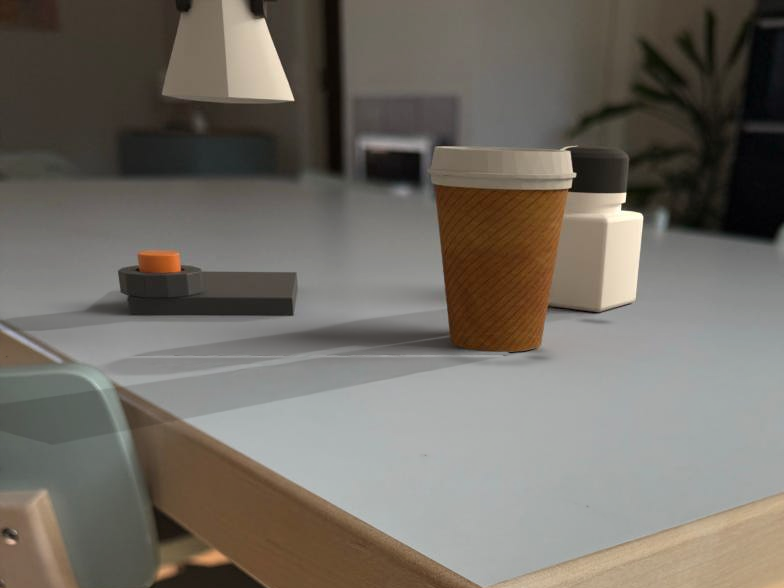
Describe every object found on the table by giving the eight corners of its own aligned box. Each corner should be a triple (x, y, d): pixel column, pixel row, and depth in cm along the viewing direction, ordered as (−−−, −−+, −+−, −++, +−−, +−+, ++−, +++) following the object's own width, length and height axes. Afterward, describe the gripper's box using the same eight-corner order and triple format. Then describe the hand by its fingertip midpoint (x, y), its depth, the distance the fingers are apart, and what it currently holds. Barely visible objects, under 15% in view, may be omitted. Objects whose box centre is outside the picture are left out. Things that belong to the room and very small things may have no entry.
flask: (229, 102, 54) (212, -124, 49) (139, 99, 57) (116, -113, 53) (316, 107, 60) (309, -97, 55) (229, 103, 63) (216, -89, 58)
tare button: (136, 277, 73) (133, 255, 72) (143, 271, 75) (140, 250, 75) (178, 277, 73) (176, 255, 72) (183, 272, 76) (181, 250, 75)
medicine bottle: (636, 302, 85) (651, 147, 79) (599, 313, 80) (613, 147, 74) (563, 294, 88) (573, 144, 83) (523, 303, 83) (531, 144, 77)
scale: (118, 317, 73) (112, 274, 71) (148, 287, 85) (143, 250, 84) (293, 318, 74) (291, 276, 73) (297, 288, 87) (295, 252, 85)
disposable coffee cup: (398, 341, 67) (396, 145, 62) (491, 325, 74) (497, 146, 68) (501, 364, 62) (509, 151, 56) (592, 345, 68) (608, 152, 63)
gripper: (-12, -493, 44) (56, 0, 52) (364, -448, 46) (369, 17, 54) (34, -413, 50) (87, 12, 59) (360, -378, 52) (366, 28, 61)
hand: (222, 10), depth 56 cm, fingers closed on flask, 3 cm apart
